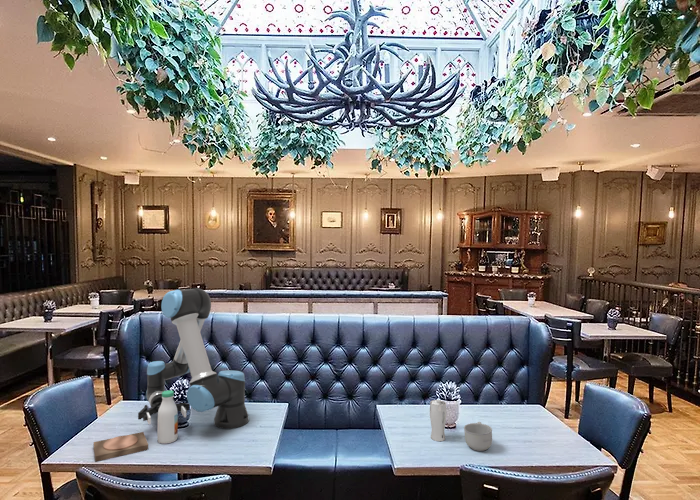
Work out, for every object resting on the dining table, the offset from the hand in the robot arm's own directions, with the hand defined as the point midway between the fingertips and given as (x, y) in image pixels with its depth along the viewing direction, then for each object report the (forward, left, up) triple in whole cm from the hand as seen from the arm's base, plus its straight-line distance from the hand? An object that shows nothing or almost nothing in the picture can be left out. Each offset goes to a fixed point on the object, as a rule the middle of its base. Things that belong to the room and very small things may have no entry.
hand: (167, 417), depth 175 cm
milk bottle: (0, -2, -10) cm, 10 cm away
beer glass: (-96, +57, -10) cm, 112 cm away
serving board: (+17, -4, -10) cm, 20 cm away
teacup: (-105, +71, -10) cm, 127 cm away
